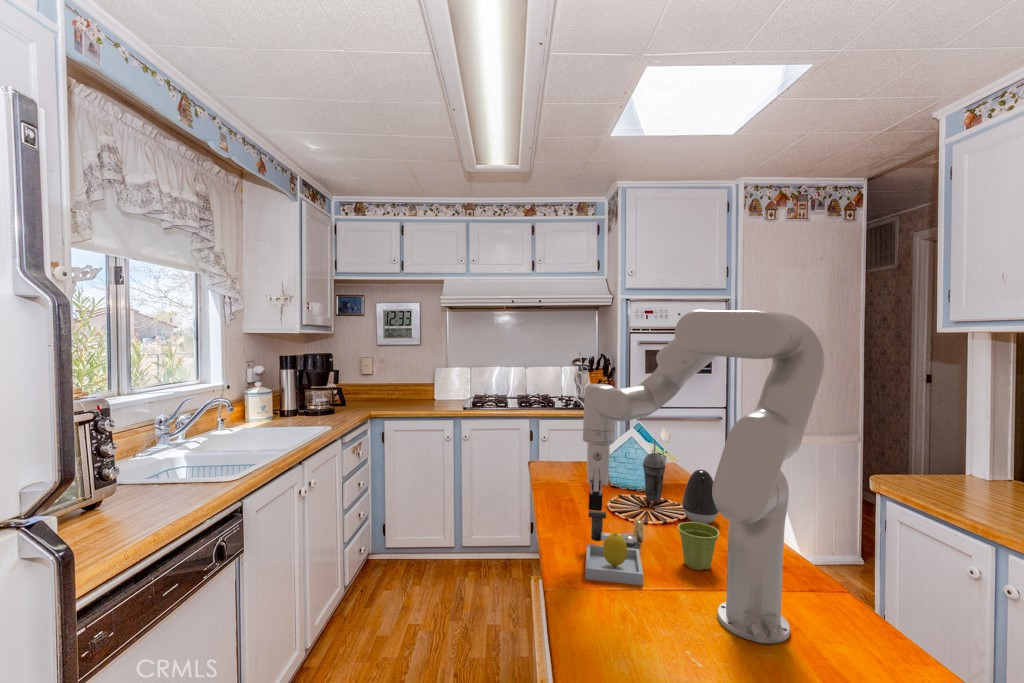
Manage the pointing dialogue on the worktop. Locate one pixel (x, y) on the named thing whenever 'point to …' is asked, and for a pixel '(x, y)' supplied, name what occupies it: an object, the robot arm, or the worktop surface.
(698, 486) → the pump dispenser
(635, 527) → the crank base
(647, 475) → the beverage cup
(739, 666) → the worktop surface
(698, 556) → the plant pot
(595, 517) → the crank handle
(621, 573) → the tray
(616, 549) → the lemon
